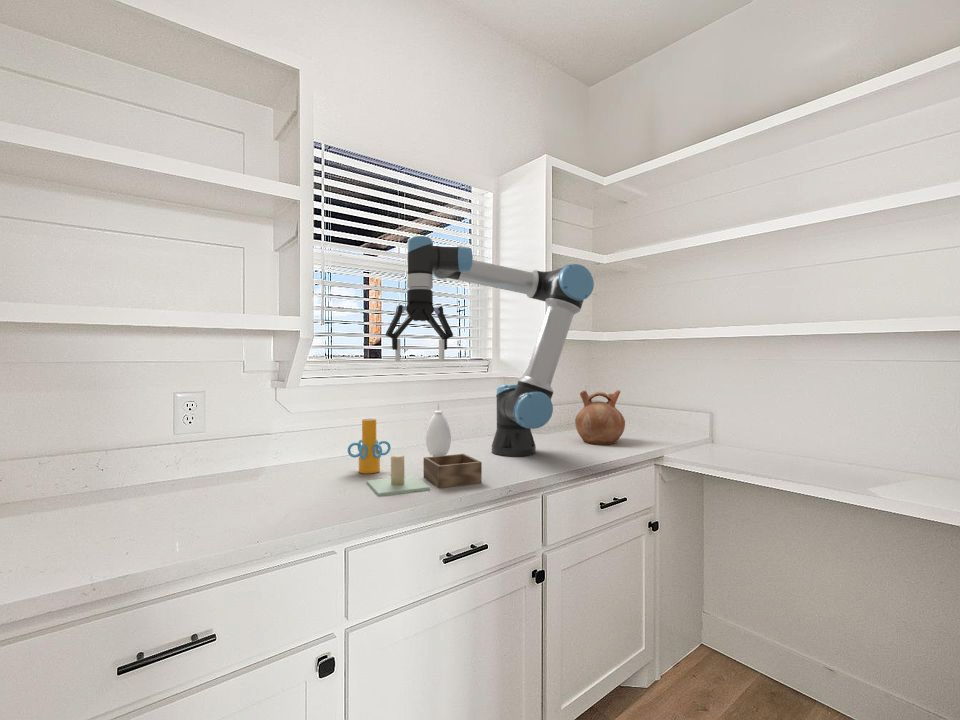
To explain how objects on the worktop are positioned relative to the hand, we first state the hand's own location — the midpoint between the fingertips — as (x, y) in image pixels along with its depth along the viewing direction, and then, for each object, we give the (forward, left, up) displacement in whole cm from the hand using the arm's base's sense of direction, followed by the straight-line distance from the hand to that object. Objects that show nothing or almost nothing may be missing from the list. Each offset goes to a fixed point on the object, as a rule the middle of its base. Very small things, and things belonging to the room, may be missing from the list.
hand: (420, 361), depth 150 cm
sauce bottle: (-9, -9, -32) cm, 34 cm away
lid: (+12, +18, -32) cm, 39 cm away
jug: (-75, -11, -32) cm, 82 cm away
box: (-3, +18, -32) cm, 37 cm away
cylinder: (+15, -1, -32) cm, 35 cm away
